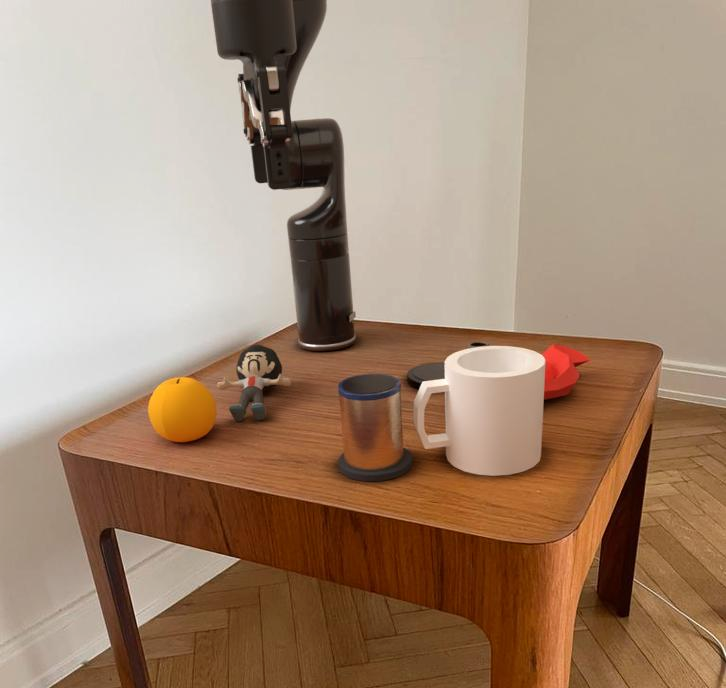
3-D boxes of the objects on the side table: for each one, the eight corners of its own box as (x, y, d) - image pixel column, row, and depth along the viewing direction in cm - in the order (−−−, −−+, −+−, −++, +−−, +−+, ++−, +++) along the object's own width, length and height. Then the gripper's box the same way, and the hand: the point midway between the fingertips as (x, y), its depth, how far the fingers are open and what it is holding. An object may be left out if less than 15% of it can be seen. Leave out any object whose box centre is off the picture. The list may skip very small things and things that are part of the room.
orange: (194, 419, 97) (183, 363, 93) (233, 432, 92) (224, 374, 88) (141, 440, 91) (128, 382, 88) (180, 455, 87) (168, 394, 83)
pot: (337, 452, 83) (331, 378, 79) (393, 442, 84) (389, 369, 80) (353, 476, 77) (346, 398, 73) (412, 465, 78) (409, 388, 75)
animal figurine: (601, 377, 100) (604, 340, 98) (558, 415, 90) (561, 375, 87) (521, 366, 107) (522, 331, 104) (472, 400, 96) (472, 362, 94)
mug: (429, 485, 76) (426, 386, 71) (407, 446, 85) (403, 355, 80) (556, 468, 77) (561, 370, 73) (521, 430, 86) (524, 341, 82)
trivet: (331, 456, 84) (330, 450, 83) (398, 444, 85) (398, 438, 85) (349, 487, 77) (349, 480, 76) (423, 473, 78) (422, 466, 78)
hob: (398, 375, 106) (398, 367, 106) (457, 366, 108) (457, 357, 108) (420, 396, 99) (419, 386, 98) (483, 385, 101) (483, 376, 100)
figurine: (206, 409, 93) (221, 336, 103) (217, 446, 98) (231, 373, 108) (285, 404, 92) (292, 332, 102) (292, 442, 97) (299, 369, 107)
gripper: (307, -16, 64) (324, 187, 71) (277, 6, 76) (294, 177, 83) (219, -12, 62) (246, 195, 69) (203, 9, 74) (227, 183, 82)
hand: (272, 185), depth 76 cm, fingers open, 8 cm apart
